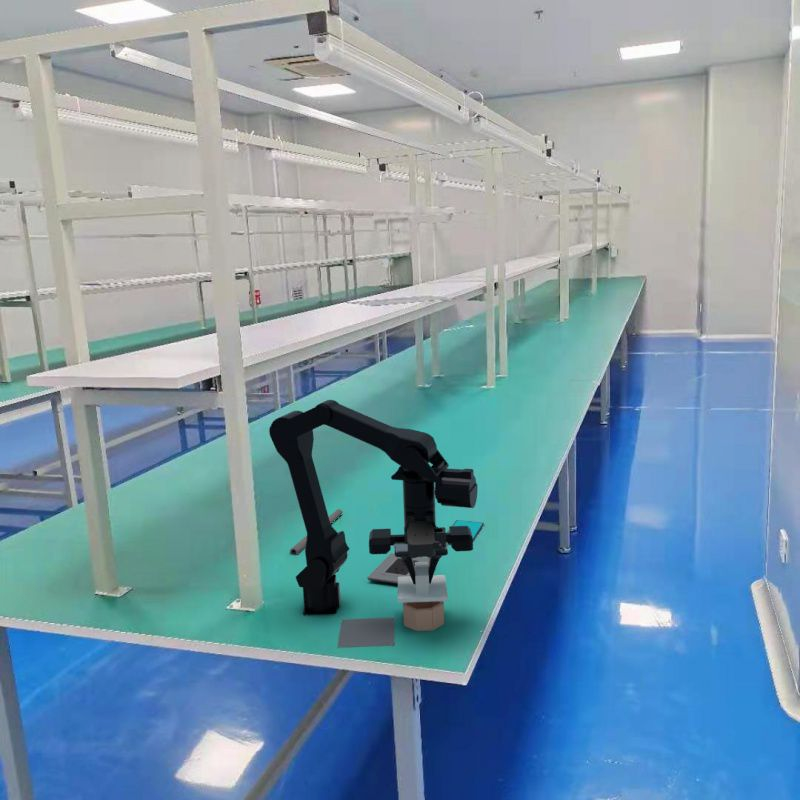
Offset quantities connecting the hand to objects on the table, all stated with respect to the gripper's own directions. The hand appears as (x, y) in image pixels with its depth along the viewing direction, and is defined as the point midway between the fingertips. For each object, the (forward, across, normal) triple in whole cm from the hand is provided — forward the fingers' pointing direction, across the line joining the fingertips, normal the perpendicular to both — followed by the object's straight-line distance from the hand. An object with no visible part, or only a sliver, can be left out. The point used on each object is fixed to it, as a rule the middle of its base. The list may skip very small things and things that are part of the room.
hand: (422, 583), depth 134 cm
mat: (+8, -10, -4) cm, 14 cm away
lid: (+1, 0, 0) cm, 1 cm away
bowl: (+8, 0, 0) cm, 8 cm away
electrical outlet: (+8, -4, +21) cm, 23 cm away
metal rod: (+9, -25, +47) cm, 54 cm away
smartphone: (+8, +11, +43) cm, 45 cm away
